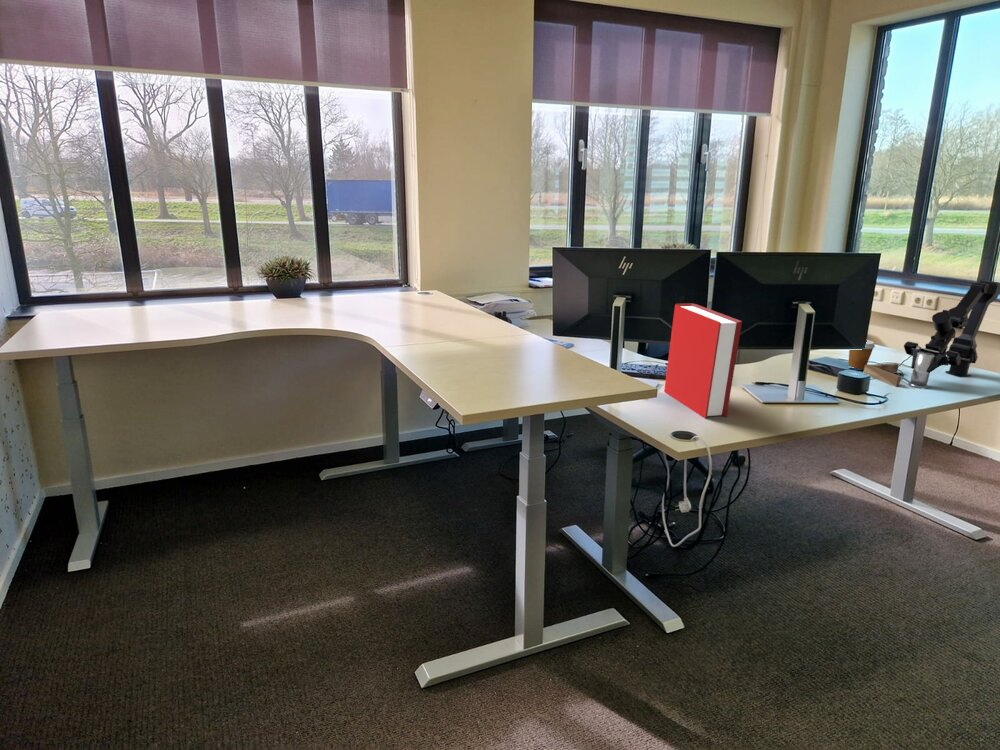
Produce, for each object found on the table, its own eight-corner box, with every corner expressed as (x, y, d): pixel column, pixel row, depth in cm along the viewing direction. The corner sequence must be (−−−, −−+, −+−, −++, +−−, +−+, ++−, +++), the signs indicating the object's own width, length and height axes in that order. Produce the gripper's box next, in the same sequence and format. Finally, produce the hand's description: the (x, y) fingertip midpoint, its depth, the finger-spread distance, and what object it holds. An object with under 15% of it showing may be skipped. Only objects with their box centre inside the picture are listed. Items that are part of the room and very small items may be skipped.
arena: (892, 372, 260) (894, 363, 259) (926, 384, 245) (929, 375, 244) (863, 373, 256) (865, 364, 255) (895, 386, 242) (898, 376, 240)
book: (726, 417, 204) (742, 321, 194) (705, 418, 202) (719, 321, 192) (681, 389, 229) (693, 303, 219) (662, 390, 227) (673, 303, 217)
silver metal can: (913, 382, 248) (921, 350, 244) (930, 387, 243) (939, 354, 239) (904, 384, 244) (912, 352, 240) (922, 389, 239) (931, 357, 235)
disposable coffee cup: (853, 372, 258) (859, 344, 254) (838, 365, 267) (844, 338, 263) (874, 372, 259) (881, 344, 255) (859, 365, 268) (865, 338, 264)
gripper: (971, 357, 240) (950, 389, 238) (919, 345, 255) (899, 375, 253) (967, 340, 234) (945, 372, 231) (914, 329, 249) (893, 359, 246)
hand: (920, 370), depth 241 cm, fingers closed on silver metal can, 5 cm apart
